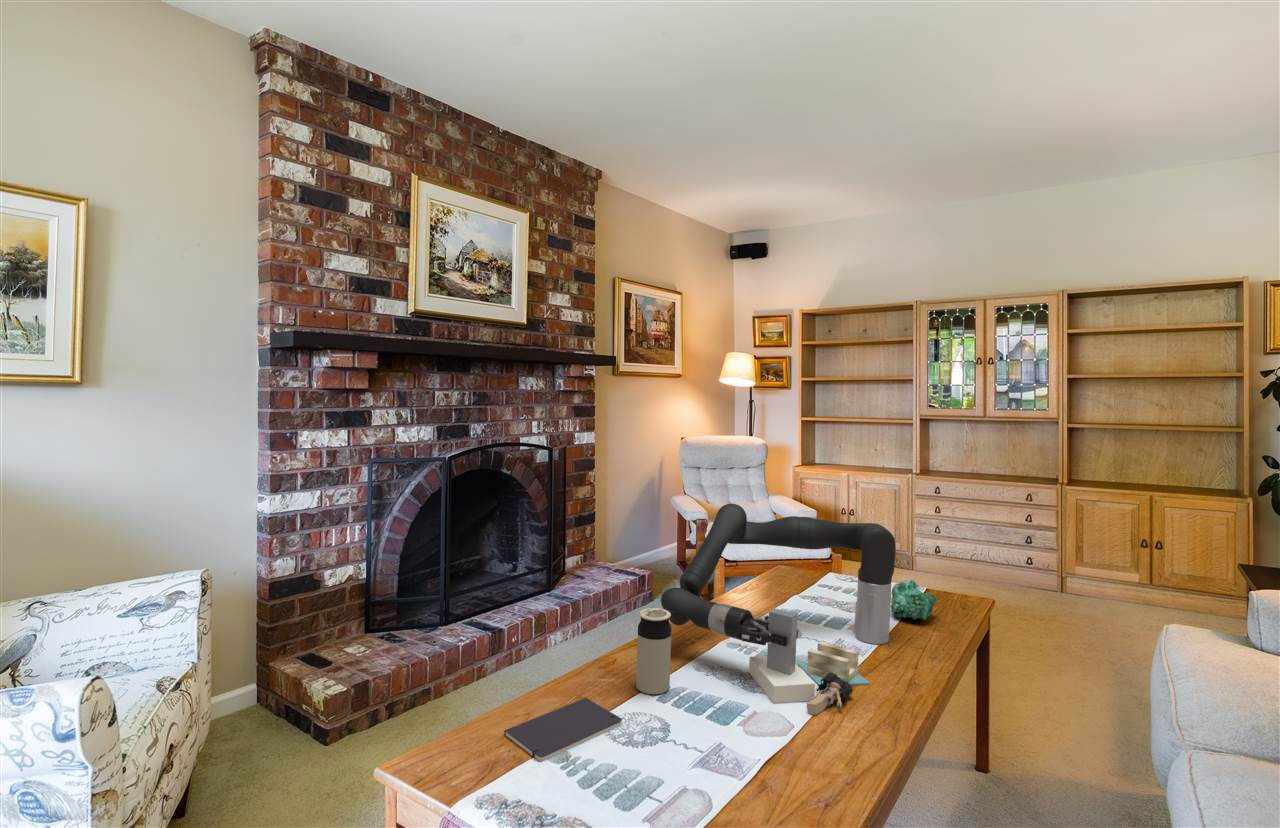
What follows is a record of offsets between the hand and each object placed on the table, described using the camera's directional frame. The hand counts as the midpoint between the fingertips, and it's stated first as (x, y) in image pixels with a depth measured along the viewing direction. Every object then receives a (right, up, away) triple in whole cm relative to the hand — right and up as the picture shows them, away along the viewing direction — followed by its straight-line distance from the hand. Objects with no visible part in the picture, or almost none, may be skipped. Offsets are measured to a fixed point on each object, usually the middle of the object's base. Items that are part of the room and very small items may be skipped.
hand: (792, 638), depth 154 cm
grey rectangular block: (-2, -8, +2) cm, 9 cm away
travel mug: (-33, -12, -1) cm, 35 cm away
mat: (+12, -12, +9) cm, 20 cm away
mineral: (+51, -12, +54) cm, 75 cm away
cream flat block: (-2, -12, +2) cm, 13 cm away
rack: (+12, -12, +9) cm, 20 cm away
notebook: (-52, -13, -20) cm, 57 cm away
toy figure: (+7, -13, -6) cm, 16 cm away
